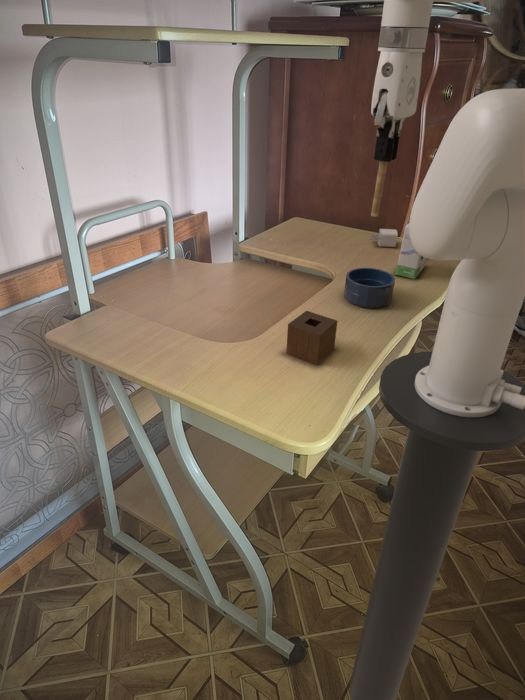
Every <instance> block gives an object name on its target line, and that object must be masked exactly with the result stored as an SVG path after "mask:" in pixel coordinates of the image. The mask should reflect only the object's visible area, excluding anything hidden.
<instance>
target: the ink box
mask: <svg viewBox="0 0 525 700" xmlns="http://www.w3.org/2000/svg"><path fill="white" fill-rule="evenodd" d="M426 262H427V258H424V257H423V256H421V255H420V254H418V253H417V252H416V250H415V249H414V247H413V246H412V243H411V240H410V236H409V222H408V223H407V224H406V225H405V227H404V231H403V236H402V241H401V245H400V250H399V255H398V259H397V265H396V269H395V276H400V277H405V278H408V279H413V280H416V279H417V277H418V276H419V274H420V273H421V272H422V271H423V269H425V266H426Z"/></svg>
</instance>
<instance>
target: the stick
mask: <svg viewBox="0 0 525 700" xmlns="http://www.w3.org/2000/svg"><path fill="white" fill-rule="evenodd" d="M388 163H389V162H384V161H379V165H378V170H377V176H376V182H375V188H374V193H373V198H372V205H371V211H370V216H371V217H374V218H375V217H377V218H378V217H379V213H380V208H381V202H382V196H383V190H384V186H385V185H384V184H385V180H386V173H387V169H388Z"/></svg>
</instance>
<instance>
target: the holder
mask: <svg viewBox="0 0 525 700" xmlns="http://www.w3.org/2000/svg"><path fill="white" fill-rule="evenodd" d="M337 329H338V320H337V319H334V318H331V317H327V316H326V315H325V316H324V315H321V314H319V313H316V312H312V311H309V310H305V311H304V312H302V313H301V314H300V315H298V316H296V318H294V319H293V320H291V321H290V322H288V324H287V334H286V335H287V336H286V337H287V338H286V352H285V354H286V355H288V356H291V357H293V358H296V359H299V360H302V361H304V362H307V363H309V364H312V365H315V366H319V364H321V363H322V362H323V361H324V360H325V359H326V358H328V356H329V355H330V354H331V353H333V352H334V351H335V345H336V337H337Z"/></svg>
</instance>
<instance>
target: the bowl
mask: <svg viewBox="0 0 525 700" xmlns="http://www.w3.org/2000/svg"><path fill="white" fill-rule="evenodd" d="M395 284H396V277H395V276H394V274H392V273H390V272H388V271H386V270H383V269H379V268H374V267H359V268H358V267H356V268H353V269H350V270H349V271H348V272H346V275H345V283H344V292H343V296H344V298H345V299H346V300H347V301H348V302H350V303H351V304H352V305H355V306H358V307H362V308H369V309H375V308H381V307H385V306H388V305H389V304H390V303H391V302H392V300H393V294H394V288H395Z"/></svg>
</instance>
